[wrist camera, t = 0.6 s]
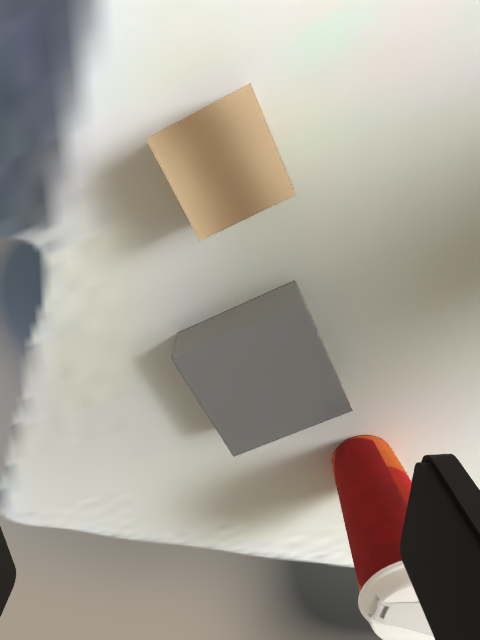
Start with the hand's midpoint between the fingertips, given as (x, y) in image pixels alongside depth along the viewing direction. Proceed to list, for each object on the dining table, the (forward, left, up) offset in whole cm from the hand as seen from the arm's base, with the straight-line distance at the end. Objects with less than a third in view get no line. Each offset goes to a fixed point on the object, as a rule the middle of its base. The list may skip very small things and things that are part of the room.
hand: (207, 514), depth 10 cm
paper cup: (-3, +24, -24) cm, 34 cm away
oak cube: (-3, -5, -24) cm, 24 cm away
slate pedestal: (+1, +10, -24) cm, 26 cm away
